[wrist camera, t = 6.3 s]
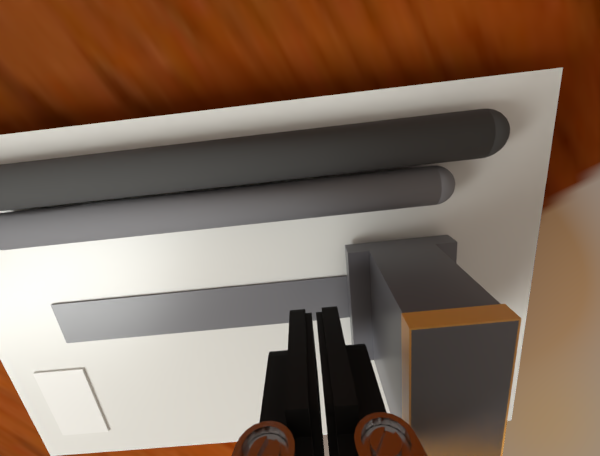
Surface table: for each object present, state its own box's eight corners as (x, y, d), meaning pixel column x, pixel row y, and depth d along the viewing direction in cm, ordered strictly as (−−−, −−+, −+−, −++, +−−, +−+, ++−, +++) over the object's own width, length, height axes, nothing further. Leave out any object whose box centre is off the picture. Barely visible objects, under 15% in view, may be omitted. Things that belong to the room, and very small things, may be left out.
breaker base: (506, 79, 13) (607, 58, 9) (478, 374, 18) (533, 452, 14) (-28, 142, 14) (-173, 152, 10) (87, 406, 19) (25, 489, 15)
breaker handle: (447, 233, 12) (556, 315, 7) (442, 341, 14) (527, 472, 9) (344, 243, 12) (376, 331, 7) (352, 349, 14) (381, 482, 9)
